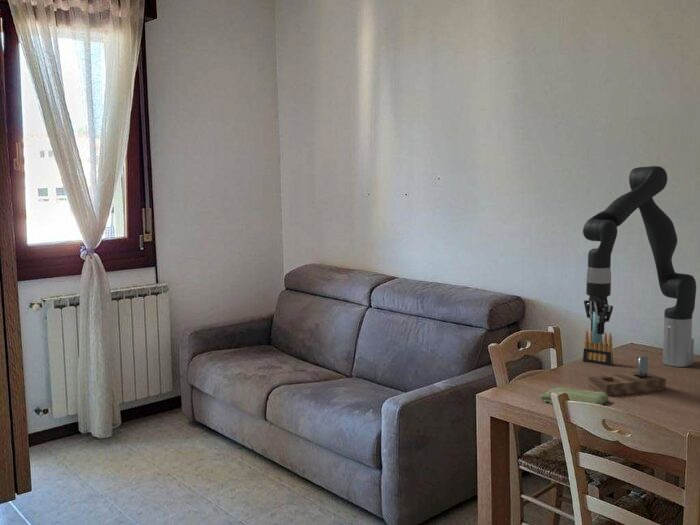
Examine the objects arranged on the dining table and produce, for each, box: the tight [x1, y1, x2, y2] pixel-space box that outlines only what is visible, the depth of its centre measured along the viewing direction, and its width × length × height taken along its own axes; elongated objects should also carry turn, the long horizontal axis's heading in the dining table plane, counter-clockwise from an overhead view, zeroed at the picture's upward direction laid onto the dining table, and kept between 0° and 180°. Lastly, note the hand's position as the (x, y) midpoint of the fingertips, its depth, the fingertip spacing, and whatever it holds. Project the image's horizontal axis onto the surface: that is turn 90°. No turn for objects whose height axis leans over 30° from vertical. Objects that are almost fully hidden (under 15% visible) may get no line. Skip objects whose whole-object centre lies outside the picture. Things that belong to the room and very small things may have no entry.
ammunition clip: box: [582, 329, 614, 367], centre depth 265 cm, size 11×2×12 cm, turn 48°
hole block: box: [587, 371, 667, 397], centre depth 234 cm, size 22×10×4 cm, turn 105°
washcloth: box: [539, 387, 609, 405], centre depth 221 cm, size 13×18×3 cm
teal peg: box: [592, 311, 603, 343], centre depth 237 cm, size 3×3×10 cm
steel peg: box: [637, 355, 649, 379], centre depth 235 cm, size 3×3×10 cm
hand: (597, 332), depth 237 cm, fingers closed on teal peg, 3 cm apart
